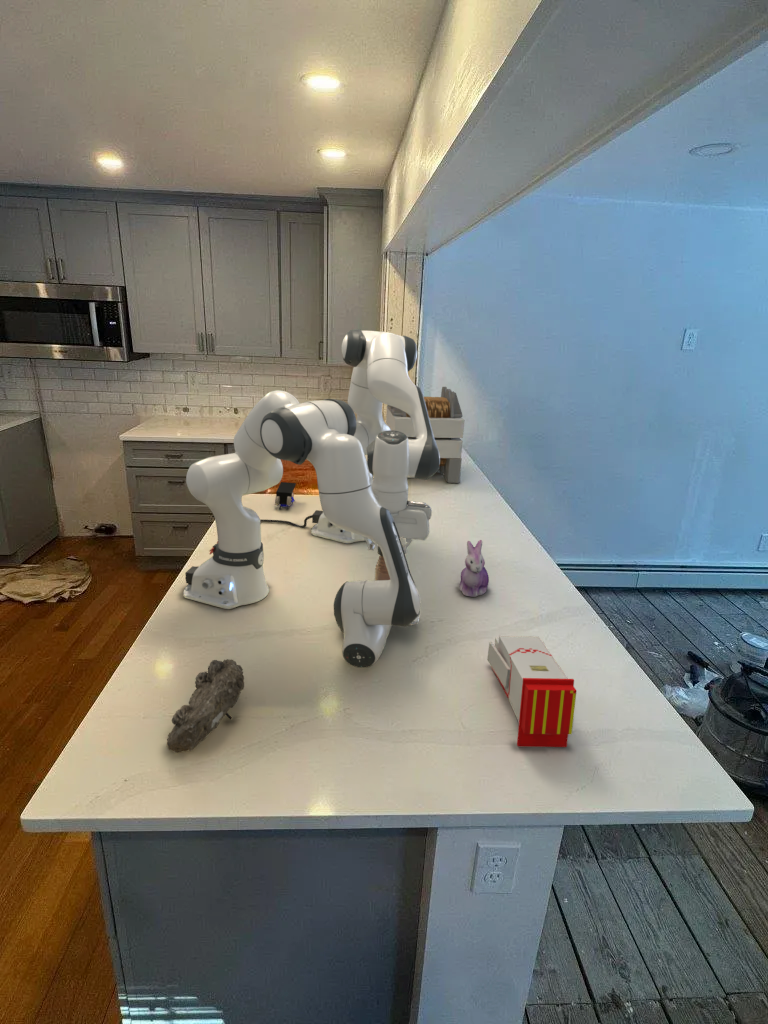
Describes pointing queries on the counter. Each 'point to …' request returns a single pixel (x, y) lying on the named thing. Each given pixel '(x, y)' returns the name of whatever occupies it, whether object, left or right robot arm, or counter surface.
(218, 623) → the counter surface
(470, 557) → the figurine
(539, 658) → the toy
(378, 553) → the cap
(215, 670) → the fossil
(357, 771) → the counter surface
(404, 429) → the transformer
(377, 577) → the bottle
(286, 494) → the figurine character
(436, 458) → the right robot arm
